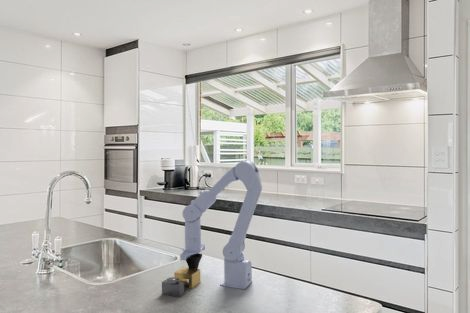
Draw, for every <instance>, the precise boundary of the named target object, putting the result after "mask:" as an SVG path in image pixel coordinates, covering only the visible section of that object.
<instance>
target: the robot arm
mask: <svg viewBox="0 0 470 313" xmlns="http://www.w3.org/2000/svg"><path fill="white" fill-rule="evenodd" d="M239 180H240V181H241V182H242V184H243V185H244V186H245V189H246V193H245V196H244V199H243V202H242V204H241V208H240V210H239V213H238V215H237V216H238V217H237V220H236V222H235V225H234V228H233V231H232V233H231V235H230V237H229V239H228V242H227V243H226V244H225V245H224V246H223V249H222V256H223V268H224V269H223V271H224V274H223V275H224V280H223V281H222V282H221V283H220V284H219V285H220V286H221V287H229V288H235V289H241V290H246V288H248V286H249V285H250V284H252V283H253V278H252V277H253V276H252V275H253V274H252V272H253V270H252V268H253V267H252V262H251V260H247V259H246V258H245V255H244V254H243V252H244V250H245V249H246V248H245V247H246V245H245V244H246V243H245V240H246V237H247V232H248V230H249V228H250V224H251V223H252V222H251V221H252V219H253V216H254V212H255V210H256V208H257V205H258V202H259V199H260V196H261V193H262V190H263V185H262V182H261V176H260V171H259V168H258V167H257V166H256V164H255V163H254V162H253V161H251V160H244V161H240V162H237V164H236V165H235V166H233V167H231V168H230V169H228V171H226V173H225V174H223V176H222V177H221V178H219V180H218V181H217V182H216V183H215V184H214V185H213V186H212V187H211V188H210V189H204V190H201V191H200V192H199V193H198V194H199V195H198V196H197V197H196V198H195V199H192V200H191V201H190V204H189V205H185V206H184V208H183V211H182V218H183V219H184V247H183V248H182V253H180V254H179V260H180V261H185V262H186V265H187V268H193V269H198V268H199V264H200V262H201V259H202V257H203V253H202V251H205V249H206V246H205V244H201V243H202V241H201V240H202V237H201V236H202V232H201V231H202V230H201V229H202V228H201V217H202V216H203V214H204V213H205V212H206V211H208V209H209V208H210V207H211V206H212V205H214V204H215V202H217V196H218V195H219V194H220V193H221V192H222V191H223V190H224V189H226V188H227V187H228V186H229V185H230V184H232V183H233V182H236V181H239Z"/></svg>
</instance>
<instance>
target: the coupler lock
mask: <svg viewBox="0 0 470 313" xmlns="http://www.w3.org/2000/svg"><path fill="white" fill-rule="evenodd" d="M173 277H177V278H179V282H181V281H185V282H187V280H188V288H189V289H194V288H195V287H196V286H198V285H200V284H201V269H193V268H189V267H186V266H183V267H181V268H179V269H178V270H176V271H174V274H173Z"/></svg>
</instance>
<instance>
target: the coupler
mask: <svg viewBox="0 0 470 313" xmlns="http://www.w3.org/2000/svg"><path fill="white" fill-rule="evenodd" d="M187 288H188V281H181V282H179V278H177V277H174V276H172V277H168V278H167V279H165V280H163V281H161V295H165V296H170V297H174V298H175V297H176V298H181V297H183V296H185V289H187Z"/></svg>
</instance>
